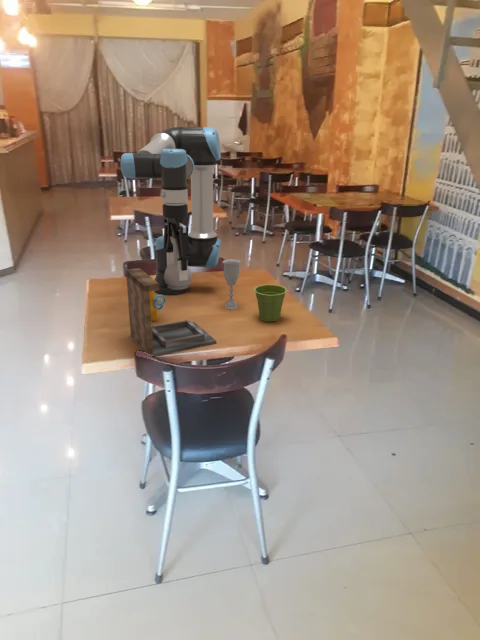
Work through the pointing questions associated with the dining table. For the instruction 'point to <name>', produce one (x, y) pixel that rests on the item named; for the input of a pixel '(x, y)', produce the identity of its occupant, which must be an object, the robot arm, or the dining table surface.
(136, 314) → the ledge nook
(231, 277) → the chalice
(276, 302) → the plant pot
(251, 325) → the dining table surface
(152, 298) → the orange ring-handled vase
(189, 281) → the potion bottle
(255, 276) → the dining table surface
